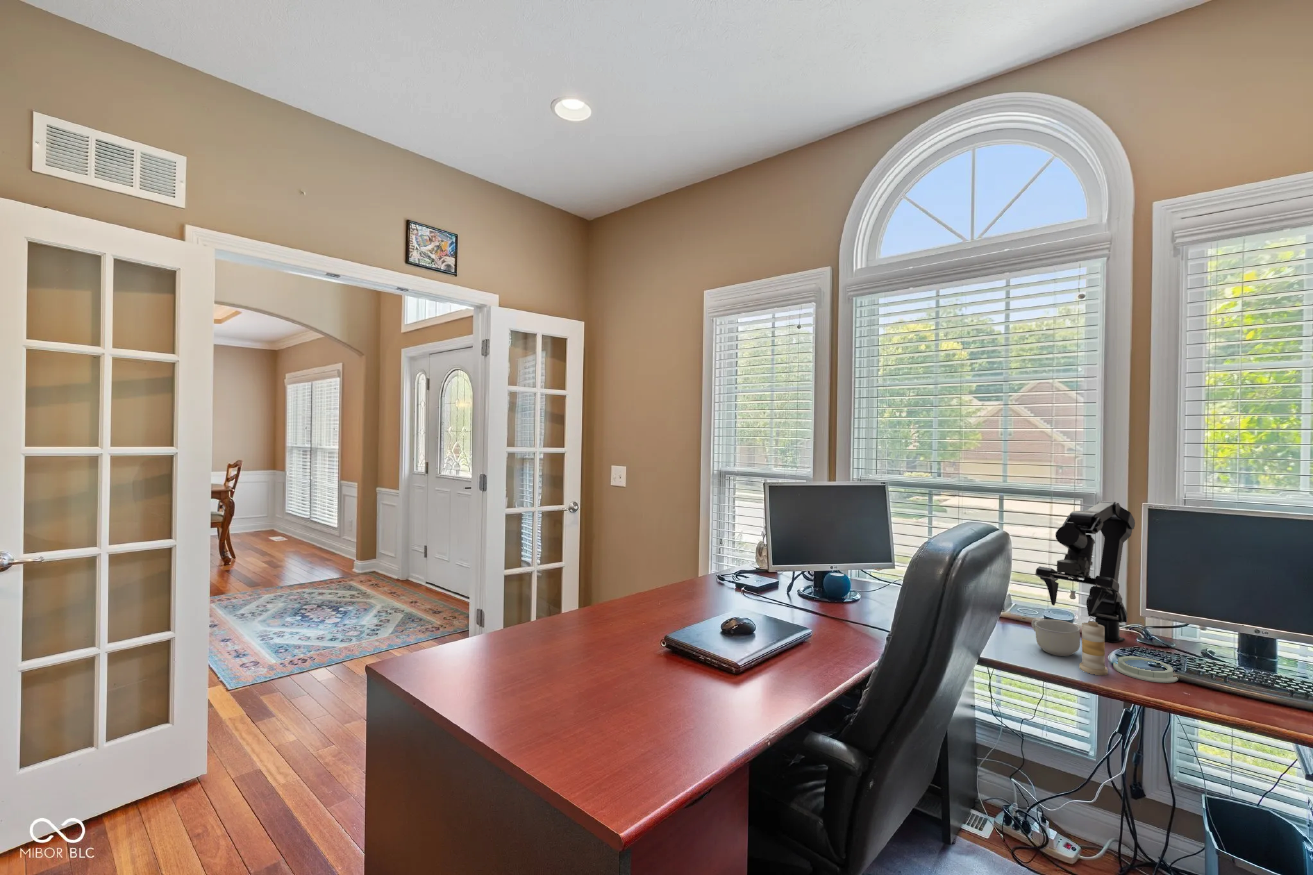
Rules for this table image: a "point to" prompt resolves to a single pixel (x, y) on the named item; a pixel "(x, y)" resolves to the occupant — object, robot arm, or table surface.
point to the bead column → (1093, 649)
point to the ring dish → (1145, 671)
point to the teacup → (1057, 636)
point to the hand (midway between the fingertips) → (1071, 608)
